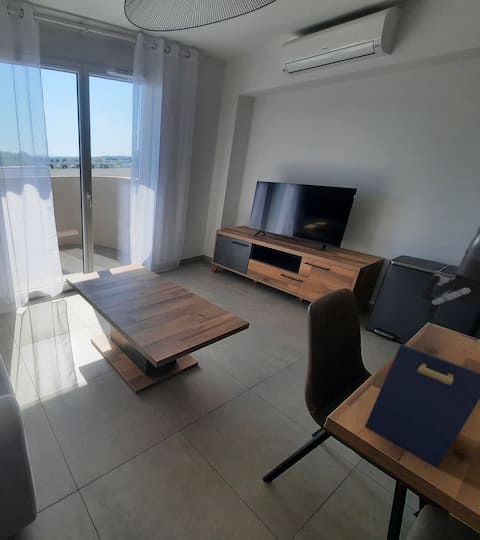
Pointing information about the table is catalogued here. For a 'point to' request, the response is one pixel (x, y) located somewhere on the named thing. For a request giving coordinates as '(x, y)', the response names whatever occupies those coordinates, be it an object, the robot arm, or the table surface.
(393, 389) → the lid
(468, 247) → the robot arm
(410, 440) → the chest
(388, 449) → the table surface
